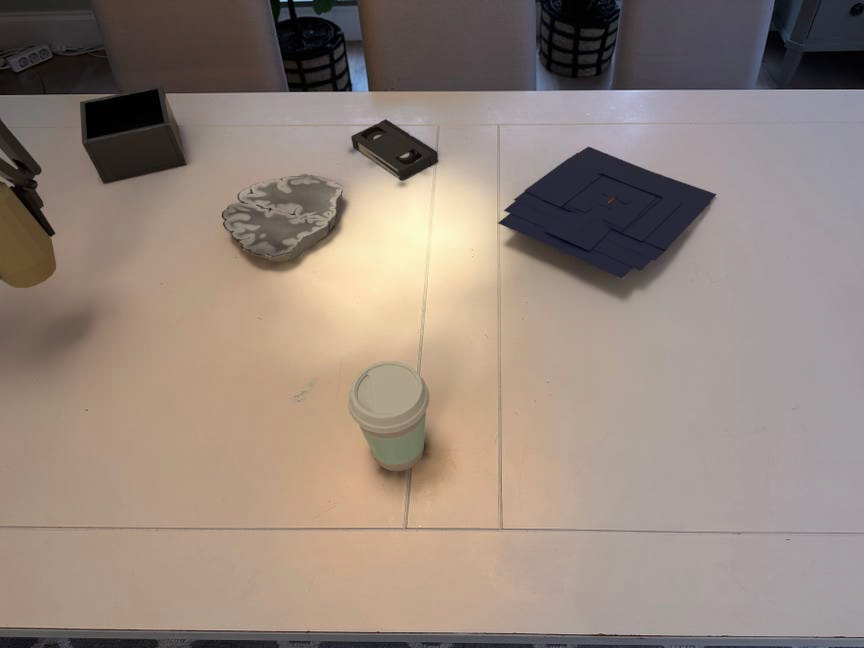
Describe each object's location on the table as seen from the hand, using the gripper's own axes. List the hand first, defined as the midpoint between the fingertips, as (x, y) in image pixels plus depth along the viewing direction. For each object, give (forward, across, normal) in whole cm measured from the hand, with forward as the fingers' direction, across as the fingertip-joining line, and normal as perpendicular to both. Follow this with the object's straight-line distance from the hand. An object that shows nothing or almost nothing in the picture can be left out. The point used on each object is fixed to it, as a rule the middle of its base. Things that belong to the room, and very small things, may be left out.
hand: (18, 253), depth 82 cm
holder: (+13, +37, +19) cm, 43 cm away
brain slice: (+13, +29, -16) cm, 36 cm away
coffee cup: (+12, -1, -51) cm, 53 cm away
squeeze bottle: (+3, 0, 0) cm, 3 cm away
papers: (+12, +49, -62) cm, 80 cm away
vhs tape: (+13, +53, -23) cm, 59 cm away
